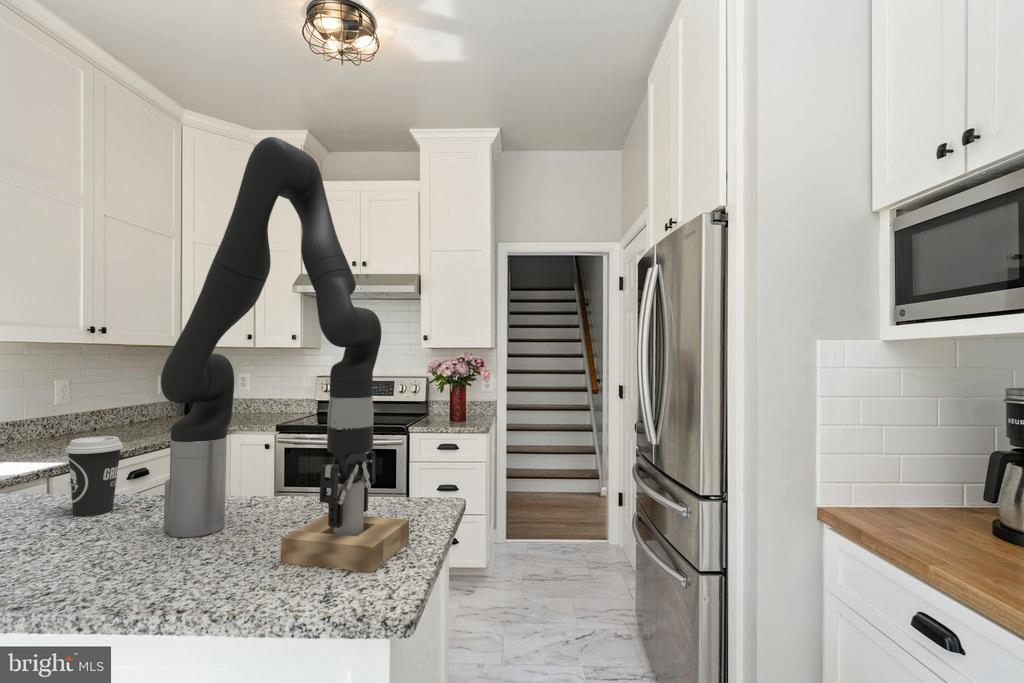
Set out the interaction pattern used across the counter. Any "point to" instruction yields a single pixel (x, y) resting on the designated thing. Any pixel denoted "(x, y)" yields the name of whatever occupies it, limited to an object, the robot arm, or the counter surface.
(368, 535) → the socket
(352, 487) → the beverage can
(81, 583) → the counter surface
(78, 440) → the coffee cup
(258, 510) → the counter surface
